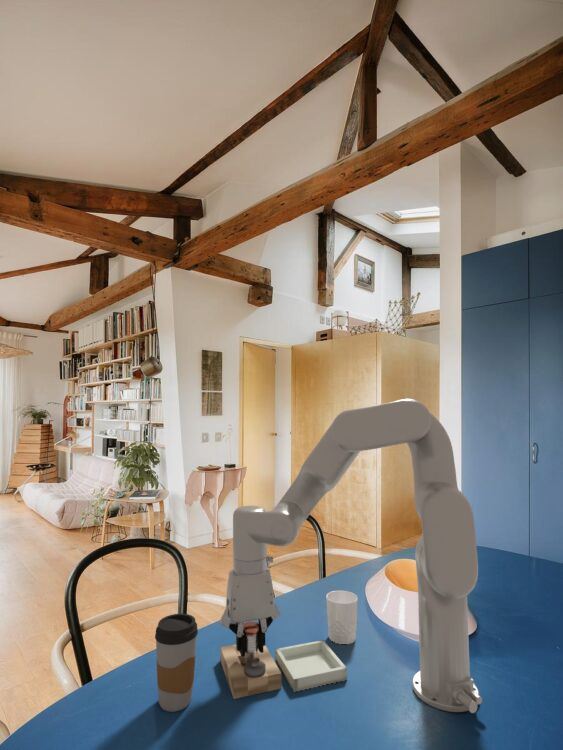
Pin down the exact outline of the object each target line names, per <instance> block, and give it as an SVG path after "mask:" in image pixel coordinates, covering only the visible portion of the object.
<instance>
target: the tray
mask: <svg viewBox="0 0 563 750" xmlns="http://www.w3.org/2000/svg"><path fill="white" fill-rule="evenodd" d="M276 661H277V662H276ZM275 662H276V664H277V663H278V664H277V666H278V665H279V666H280V667H279V666H278V667H279V669H280V668H281V669H280V671H281V670H282V671H281V673H282V672H283V673H284V674H283V673H282V674H283V676H284V675H285V676H284V677H286V678H285V679H286V681H287V680H288V681H287V683H288V685H289V684H290V685H289V686H290V688H291V690H292V689H293V690H292V691H294V692H293V693H296V692H295V691H298V692H300V691H299V690H302V691H306V690H305V689H307V690H309V688H311V689H315V688H319V687H318V686H320V687H323V686H322V685H324V686H327V685H326V684H329V685H332V684H331V683H333V684H336V682H338V683H340V682H339V681H342V682H346V681H345V680H347V681H348V670H347V669H348V668H347V667H346V665H345V664H344V663H343V661H341V659H340V658H339V656H338V655H336V653H335V652H334V650H332V648H331V647H330V646H329V645H328V643H326V642H325V640H322V639H321V640H315V641H312V642H311V641H310V642H305V643H299V644H295V645H290V646H285V647H279V648H275ZM314 687H315V688H314Z"/></svg>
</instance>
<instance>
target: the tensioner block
mask: <svg viewBox="0 0 563 750" xmlns="http://www.w3.org/2000/svg"><path fill="white" fill-rule="evenodd" d="M219 647H220V651H219V652H220V654H219V659H220V660H219V661H220V664H221V667H222V669H223V674H224V675H225V678H226V681H227V684H228V687H229V689H230V692H231V695H232V697H233V699H234V700H236V699H240V698H245V697H249V696H254V695H257V694H262V693H268V692H272V691H276V690H281V689H282V671H281V669H280V667H279V666H278V664H277V662H276V660H275V659H274V658H273V656H272V654H271V653H270V652H271V651H269V649H268V647H267V646H266V644H265V646H263V653H261V652H259V650H258V660H252V661H249V662H247V663H246V664H245V666H244V656H243V657H242V656H241V654H240V652H239V651H237V648H236V643H235V644H230V645H224V646H219Z"/></svg>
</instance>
